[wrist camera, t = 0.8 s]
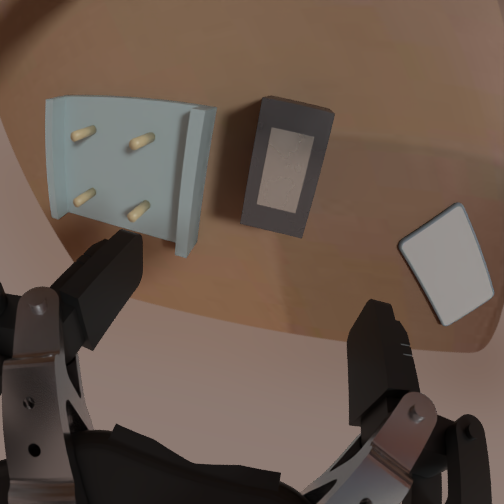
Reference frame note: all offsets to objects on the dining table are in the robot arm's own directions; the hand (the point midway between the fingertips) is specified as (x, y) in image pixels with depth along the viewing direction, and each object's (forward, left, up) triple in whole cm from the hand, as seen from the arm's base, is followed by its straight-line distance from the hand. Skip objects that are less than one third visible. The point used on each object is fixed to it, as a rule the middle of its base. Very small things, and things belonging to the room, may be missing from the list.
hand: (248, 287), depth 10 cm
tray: (+4, -16, -18) cm, 24 cm away
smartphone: (+6, +21, -19) cm, 29 cm away
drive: (0, 0, -18) cm, 18 cm away
